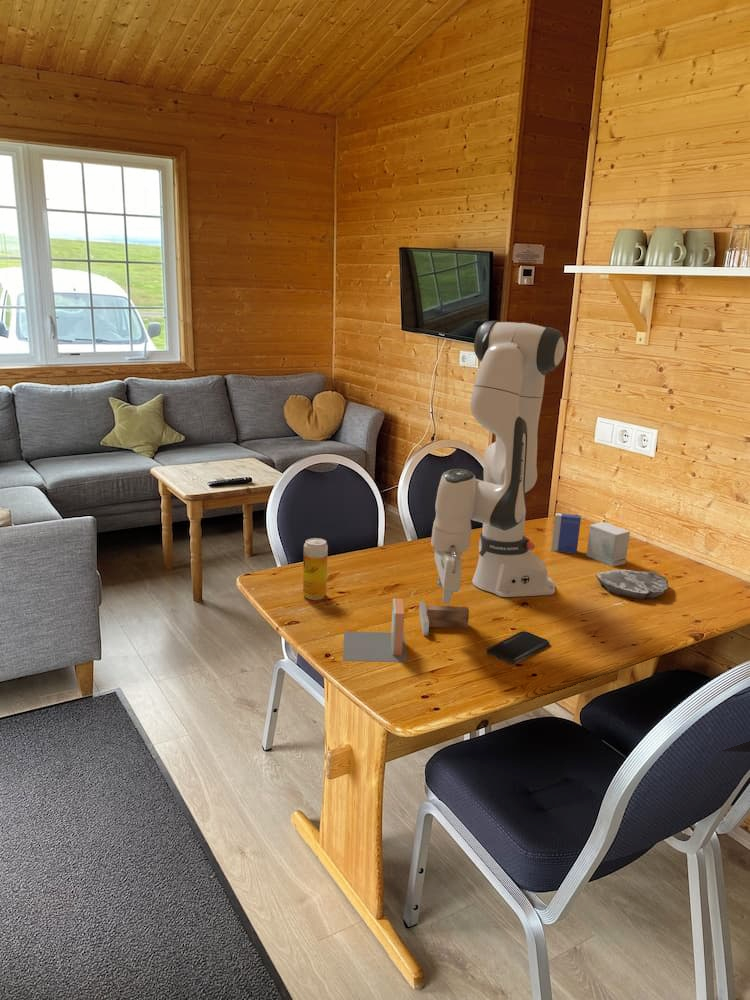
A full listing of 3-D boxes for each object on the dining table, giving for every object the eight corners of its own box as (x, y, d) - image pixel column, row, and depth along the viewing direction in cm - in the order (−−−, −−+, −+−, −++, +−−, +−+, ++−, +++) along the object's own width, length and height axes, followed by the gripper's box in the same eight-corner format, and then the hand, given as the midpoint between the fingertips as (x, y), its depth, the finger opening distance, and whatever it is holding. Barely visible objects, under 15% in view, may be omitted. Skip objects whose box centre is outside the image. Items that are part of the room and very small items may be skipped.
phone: (551, 641, 177) (513, 661, 167) (551, 646, 177) (513, 666, 167) (523, 630, 182) (484, 648, 172) (522, 634, 183) (484, 653, 172)
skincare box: (585, 556, 236) (589, 524, 233) (599, 553, 240) (603, 521, 237) (611, 567, 228) (616, 534, 225) (626, 563, 231) (631, 531, 228)
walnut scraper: (463, 617, 190) (465, 598, 188) (470, 639, 178) (471, 619, 177) (418, 615, 190) (420, 597, 188) (422, 637, 178) (424, 618, 177)
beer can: (299, 593, 200) (300, 538, 195) (321, 590, 202) (323, 536, 198) (307, 602, 194) (308, 546, 190) (329, 599, 197) (331, 544, 193)
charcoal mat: (403, 635, 179) (403, 633, 179) (407, 664, 165) (407, 662, 165) (344, 633, 178) (344, 631, 178) (342, 662, 165) (342, 660, 165)
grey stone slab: (617, 605, 202) (619, 594, 201) (587, 580, 218) (589, 570, 217) (684, 601, 206) (686, 591, 205) (650, 577, 222) (651, 568, 221)
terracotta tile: (399, 638, 176) (402, 598, 173) (401, 655, 168) (404, 613, 165) (390, 638, 176) (392, 598, 173) (392, 655, 168) (394, 613, 165)
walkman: (576, 550, 240) (581, 514, 237) (576, 553, 238) (581, 517, 234) (551, 547, 242) (555, 511, 239) (550, 550, 240) (554, 514, 236)
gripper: (470, 556, 167) (463, 614, 171) (458, 526, 187) (451, 578, 191) (442, 554, 167) (435, 612, 171) (432, 524, 186) (426, 577, 190)
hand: (443, 594), depth 181 cm, fingers open, 8 cm apart
